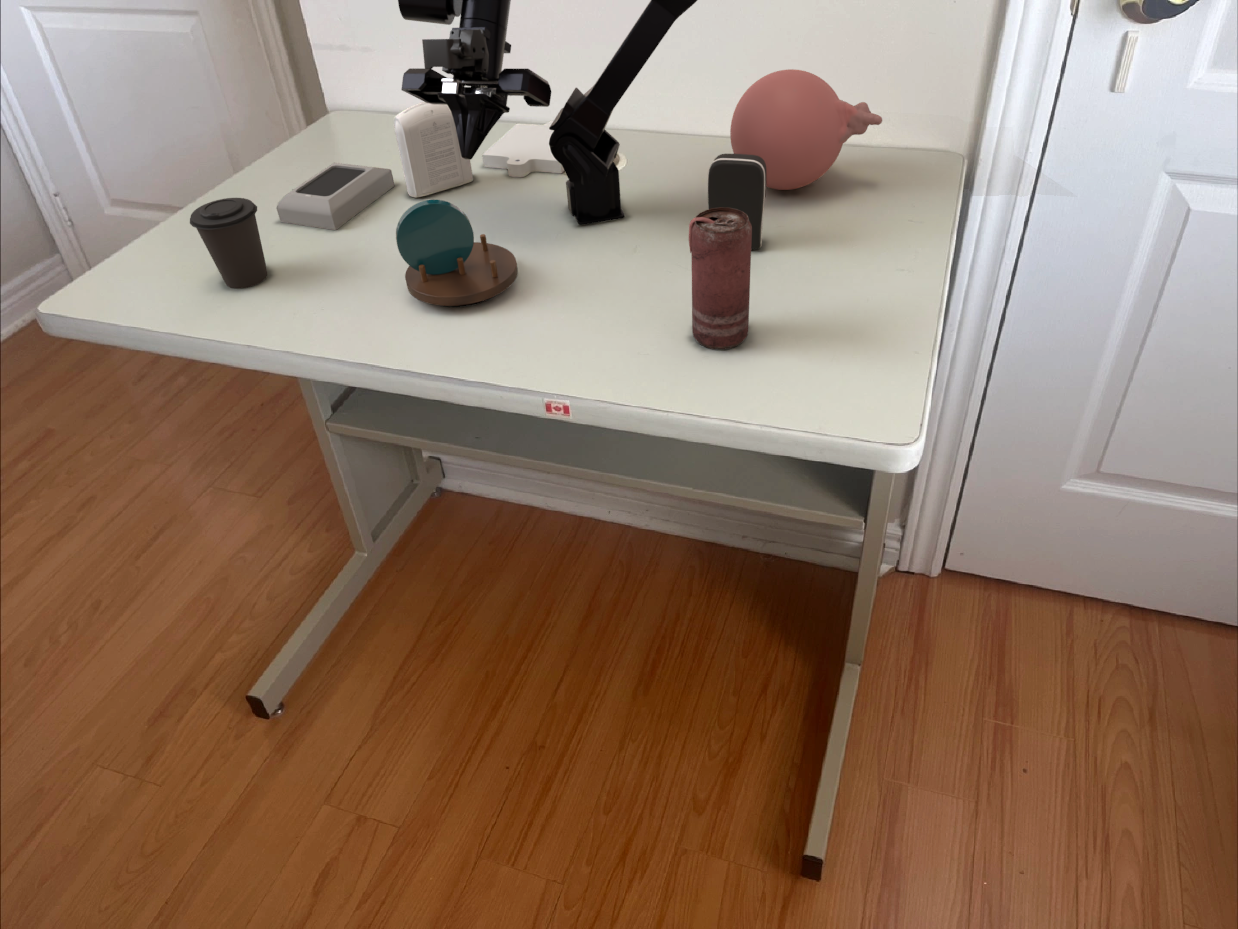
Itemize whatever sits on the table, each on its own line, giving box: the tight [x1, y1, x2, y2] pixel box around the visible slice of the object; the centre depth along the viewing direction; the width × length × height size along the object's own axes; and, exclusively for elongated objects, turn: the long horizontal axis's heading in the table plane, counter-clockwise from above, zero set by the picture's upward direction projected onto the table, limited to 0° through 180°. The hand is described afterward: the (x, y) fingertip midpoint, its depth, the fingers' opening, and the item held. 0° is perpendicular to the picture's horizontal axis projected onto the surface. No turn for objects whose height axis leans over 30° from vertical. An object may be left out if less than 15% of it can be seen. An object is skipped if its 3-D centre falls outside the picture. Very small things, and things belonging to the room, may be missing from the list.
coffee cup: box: [189, 197, 269, 290], centre depth 116 cm, size 8×8×10 cm
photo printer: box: [393, 101, 474, 199], centre depth 134 cm, size 10×4×12 cm, turn 123°
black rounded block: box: [707, 153, 767, 250], centre depth 115 cm, size 7×4×11 cm, turn 74°
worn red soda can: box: [688, 207, 752, 351], centre depth 98 cm, size 6×6×14 cm
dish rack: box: [395, 199, 519, 307], centre depth 110 cm, size 14×14×10 cm
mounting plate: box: [481, 119, 565, 178], centre depth 144 cm, size 18×13×2 cm
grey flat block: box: [275, 162, 396, 231], centre depth 134 cm, size 10×4×15 cm
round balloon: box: [729, 68, 883, 191], centre depth 125 cm, size 15×20×15 cm
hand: (466, 158), depth 114 cm, fingers closed
